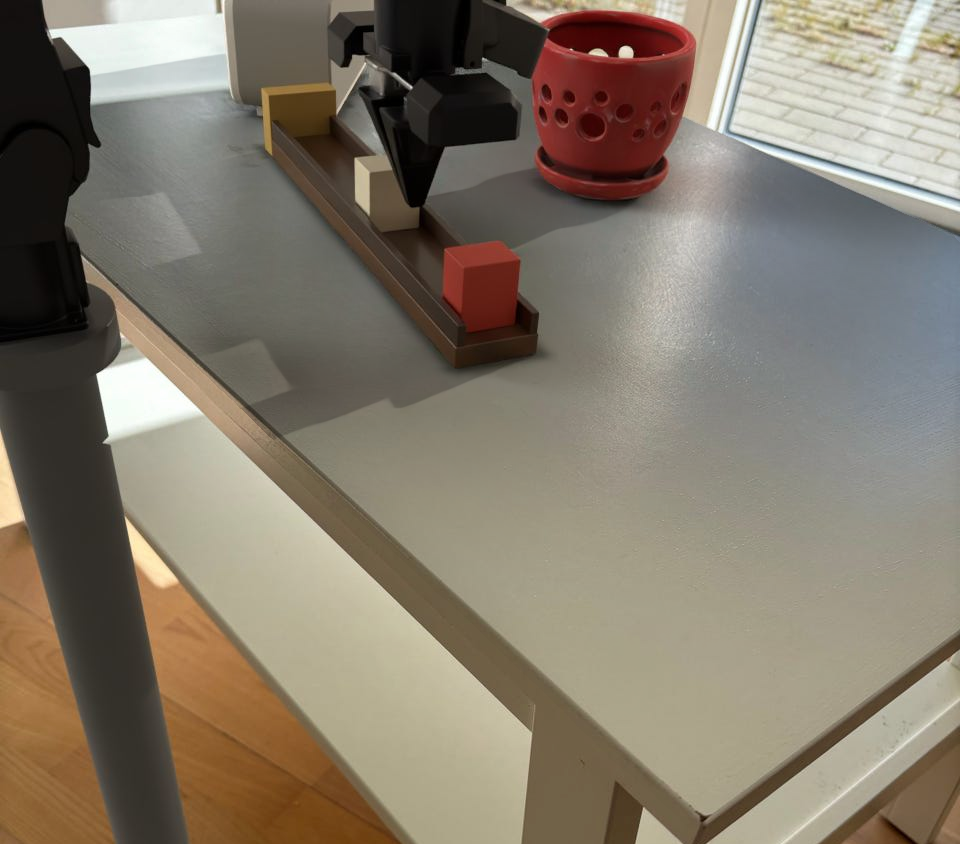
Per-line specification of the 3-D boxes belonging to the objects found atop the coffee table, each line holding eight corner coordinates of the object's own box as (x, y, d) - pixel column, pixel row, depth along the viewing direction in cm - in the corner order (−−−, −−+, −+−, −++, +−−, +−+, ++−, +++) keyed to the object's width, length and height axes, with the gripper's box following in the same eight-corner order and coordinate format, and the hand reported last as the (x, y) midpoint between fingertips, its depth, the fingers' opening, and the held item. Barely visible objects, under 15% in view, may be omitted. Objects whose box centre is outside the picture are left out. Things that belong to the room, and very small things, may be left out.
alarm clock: (296, 39, 119) (291, -89, 111) (381, 48, 119) (381, -80, 111) (231, 123, 99) (218, -25, 91) (332, 134, 99) (328, -14, 91)
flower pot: (538, 145, 100) (552, -1, 92) (679, 168, 99) (707, 20, 90) (505, 197, 91) (517, 39, 83) (660, 223, 89) (688, 64, 81)
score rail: (454, 369, 70) (456, 326, 68) (272, 156, 94) (269, 120, 92) (536, 354, 72) (541, 312, 70) (337, 150, 96) (336, 114, 94)
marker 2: (460, 334, 70) (463, 267, 67) (441, 313, 72) (444, 247, 69) (515, 325, 72) (521, 259, 69) (495, 304, 74) (500, 239, 71)
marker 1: (369, 234, 81) (369, 172, 77) (355, 218, 82) (354, 157, 79) (419, 227, 82) (420, 166, 79) (403, 212, 84) (404, 152, 81)
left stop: (272, 156, 94) (268, 95, 91) (265, 148, 95) (260, 87, 92) (337, 150, 96) (336, 89, 93) (330, 142, 98) (328, 82, 94)
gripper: (613, -18, 63) (579, 245, 73) (475, -88, 75) (463, 147, 85) (436, -10, 59) (427, 267, 70) (320, -85, 71) (328, 161, 81)
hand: (415, 205), depth 77 cm, fingers closed
